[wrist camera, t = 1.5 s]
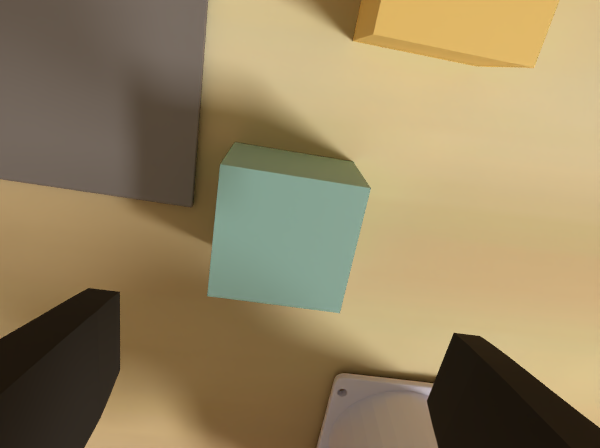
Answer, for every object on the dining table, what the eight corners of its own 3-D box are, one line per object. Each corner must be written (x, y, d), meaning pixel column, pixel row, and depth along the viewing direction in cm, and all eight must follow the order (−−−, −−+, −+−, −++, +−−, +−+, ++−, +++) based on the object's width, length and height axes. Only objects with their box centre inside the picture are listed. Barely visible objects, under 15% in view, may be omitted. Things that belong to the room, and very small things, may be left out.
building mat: (193, 204, 17) (191, 207, 17) (-52, 168, 16) (-57, 170, 16) (213, -68, 14) (211, -70, 13) (-102, -134, 13) (-111, -139, 12)
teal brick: (329, 263, 19) (340, 312, 15) (223, 248, 18) (207, 295, 15) (352, 160, 17) (370, 188, 13) (235, 141, 16) (219, 164, 13)
